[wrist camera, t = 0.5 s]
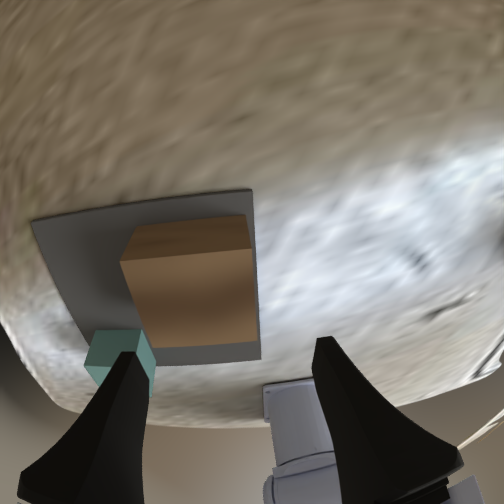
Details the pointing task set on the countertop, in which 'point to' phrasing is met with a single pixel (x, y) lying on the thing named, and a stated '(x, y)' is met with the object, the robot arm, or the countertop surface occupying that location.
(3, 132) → the countertop surface
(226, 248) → the walnut block
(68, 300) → the mat
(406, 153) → the countertop surface
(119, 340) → the teal block
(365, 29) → the countertop surface
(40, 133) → the countertop surface
